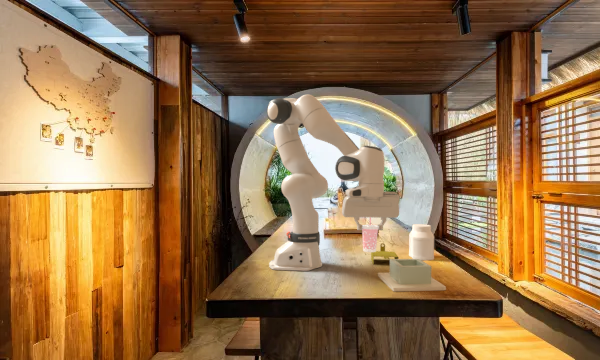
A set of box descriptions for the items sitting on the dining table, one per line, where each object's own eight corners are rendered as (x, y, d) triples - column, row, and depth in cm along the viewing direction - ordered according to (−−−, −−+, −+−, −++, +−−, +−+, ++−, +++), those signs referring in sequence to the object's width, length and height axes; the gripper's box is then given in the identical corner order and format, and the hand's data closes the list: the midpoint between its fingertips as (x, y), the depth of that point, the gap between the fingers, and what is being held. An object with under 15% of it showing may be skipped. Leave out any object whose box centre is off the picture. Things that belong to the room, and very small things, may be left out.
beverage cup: (359, 248, 133) (360, 210, 132) (376, 249, 133) (377, 211, 132) (362, 252, 127) (362, 212, 126) (379, 252, 126) (380, 213, 126)
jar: (407, 254, 174) (407, 223, 174) (427, 254, 174) (427, 223, 174) (414, 260, 162) (414, 227, 162) (436, 260, 162) (436, 227, 162)
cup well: (393, 291, 120) (393, 269, 120) (377, 275, 138) (377, 257, 138) (445, 290, 121) (446, 268, 121) (423, 274, 139) (423, 256, 139)
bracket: (368, 249, 151) (365, 242, 166) (368, 268, 151) (365, 259, 166) (406, 250, 149) (400, 243, 164) (406, 269, 149) (400, 260, 164)
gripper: (396, 191, 133) (395, 228, 133) (341, 190, 131) (340, 228, 132) (402, 192, 127) (401, 231, 127) (344, 191, 125) (343, 231, 126)
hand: (369, 229), depth 129 cm, fingers closed on beverage cup, 6 cm apart
